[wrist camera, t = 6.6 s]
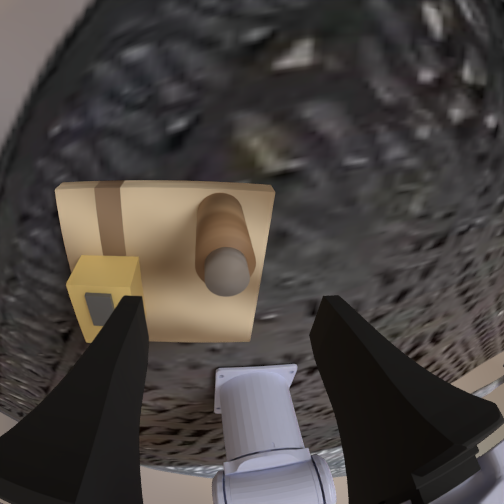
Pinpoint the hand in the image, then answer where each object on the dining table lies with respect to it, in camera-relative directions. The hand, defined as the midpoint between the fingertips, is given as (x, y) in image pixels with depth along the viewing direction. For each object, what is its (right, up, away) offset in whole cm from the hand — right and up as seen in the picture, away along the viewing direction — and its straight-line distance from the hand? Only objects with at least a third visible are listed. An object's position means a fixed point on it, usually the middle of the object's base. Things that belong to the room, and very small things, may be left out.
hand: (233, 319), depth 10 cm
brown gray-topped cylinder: (-1, +4, +7) cm, 8 cm away
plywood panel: (-5, +1, +10) cm, 11 cm away
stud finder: (-9, 0, +8) cm, 12 cm away
